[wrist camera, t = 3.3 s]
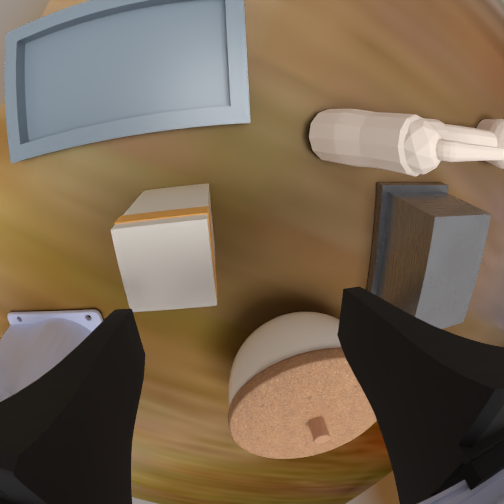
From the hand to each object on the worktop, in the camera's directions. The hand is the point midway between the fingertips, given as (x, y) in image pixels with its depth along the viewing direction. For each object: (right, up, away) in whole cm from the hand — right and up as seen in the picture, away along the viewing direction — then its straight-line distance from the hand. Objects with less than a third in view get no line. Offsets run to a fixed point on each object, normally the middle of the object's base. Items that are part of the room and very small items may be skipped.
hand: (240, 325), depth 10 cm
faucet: (+13, +11, +9) cm, 19 cm away
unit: (+12, +3, +11) cm, 17 cm away
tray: (-8, +13, +4) cm, 16 cm away
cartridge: (-4, +5, +9) cm, 11 cm away
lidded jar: (+3, -5, +14) cm, 15 cm away
